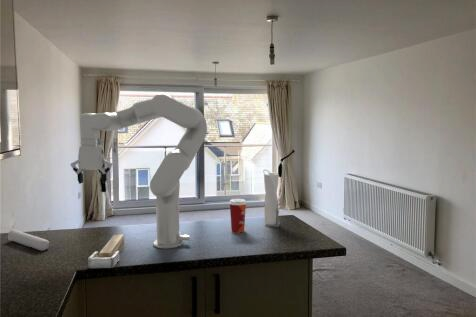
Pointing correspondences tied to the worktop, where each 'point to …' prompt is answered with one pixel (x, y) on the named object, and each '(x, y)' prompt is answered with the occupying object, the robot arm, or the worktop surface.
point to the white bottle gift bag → (271, 199)
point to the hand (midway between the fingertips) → (92, 183)
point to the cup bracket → (103, 261)
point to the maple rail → (112, 246)
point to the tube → (28, 240)
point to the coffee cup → (237, 214)
